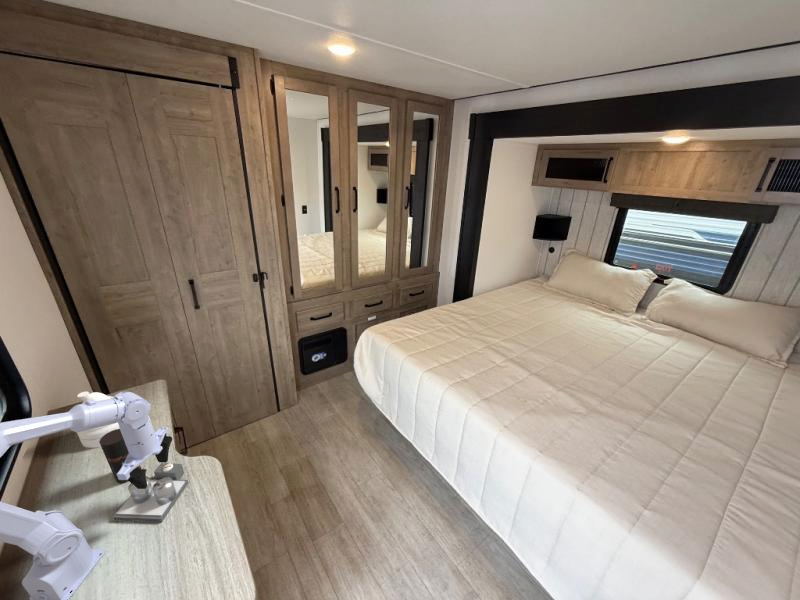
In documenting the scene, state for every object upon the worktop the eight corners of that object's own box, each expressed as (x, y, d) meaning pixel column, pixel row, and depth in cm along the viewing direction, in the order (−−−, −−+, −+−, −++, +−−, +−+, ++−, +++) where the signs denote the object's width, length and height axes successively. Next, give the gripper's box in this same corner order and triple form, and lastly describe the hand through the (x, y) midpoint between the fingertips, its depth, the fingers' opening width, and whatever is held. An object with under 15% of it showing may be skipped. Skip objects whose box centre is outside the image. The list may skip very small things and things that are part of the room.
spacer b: (169, 505, 83) (165, 492, 81) (152, 504, 83) (148, 492, 81) (180, 489, 87) (176, 477, 85) (164, 489, 87) (159, 476, 85)
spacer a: (142, 505, 82) (137, 493, 81) (129, 501, 83) (123, 488, 81) (157, 490, 86) (153, 478, 85) (144, 486, 87) (140, 474, 85)
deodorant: (126, 485, 89) (110, 447, 83) (110, 480, 90) (93, 442, 84) (146, 468, 94) (132, 431, 88) (131, 463, 95) (116, 426, 90)
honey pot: (98, 452, 98) (79, 408, 91) (71, 441, 102) (51, 397, 95) (141, 424, 110) (126, 383, 103) (115, 414, 113) (100, 374, 106)
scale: (162, 521, 81) (158, 511, 79) (114, 520, 80) (109, 509, 79) (195, 473, 94) (192, 463, 92) (153, 472, 93) (150, 461, 92)
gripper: (132, 461, 70) (148, 501, 76) (175, 415, 84) (185, 451, 89) (101, 460, 70) (118, 500, 75) (149, 414, 84) (161, 450, 89)
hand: (153, 474), depth 82 cm, fingers open, 7 cm apart
